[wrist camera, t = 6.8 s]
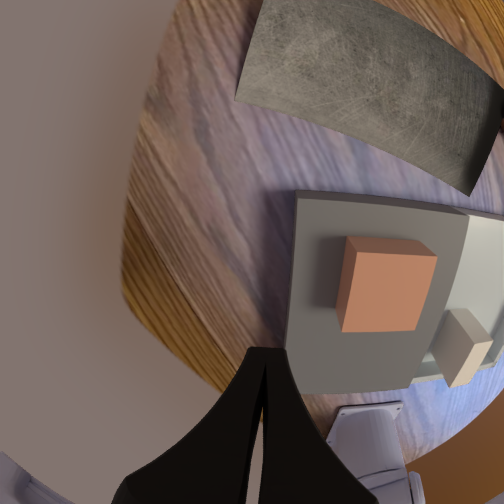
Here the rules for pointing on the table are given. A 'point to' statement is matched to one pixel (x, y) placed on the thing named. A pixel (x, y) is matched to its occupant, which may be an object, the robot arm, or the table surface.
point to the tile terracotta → (383, 284)
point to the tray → (476, 288)
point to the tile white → (460, 347)
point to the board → (328, 279)
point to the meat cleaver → (375, 83)
